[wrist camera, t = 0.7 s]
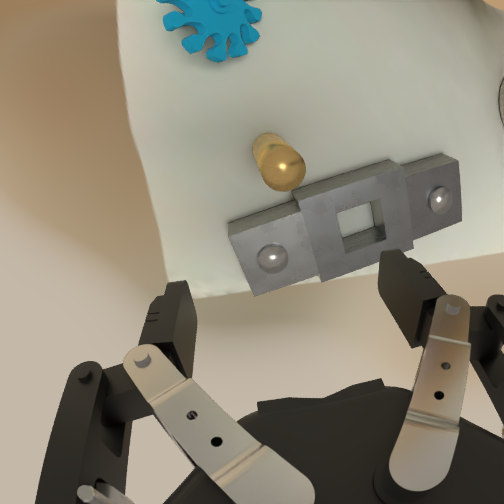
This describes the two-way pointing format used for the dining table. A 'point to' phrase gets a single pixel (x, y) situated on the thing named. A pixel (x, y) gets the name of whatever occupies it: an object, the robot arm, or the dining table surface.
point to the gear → (215, 25)
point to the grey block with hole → (327, 227)
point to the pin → (278, 162)
